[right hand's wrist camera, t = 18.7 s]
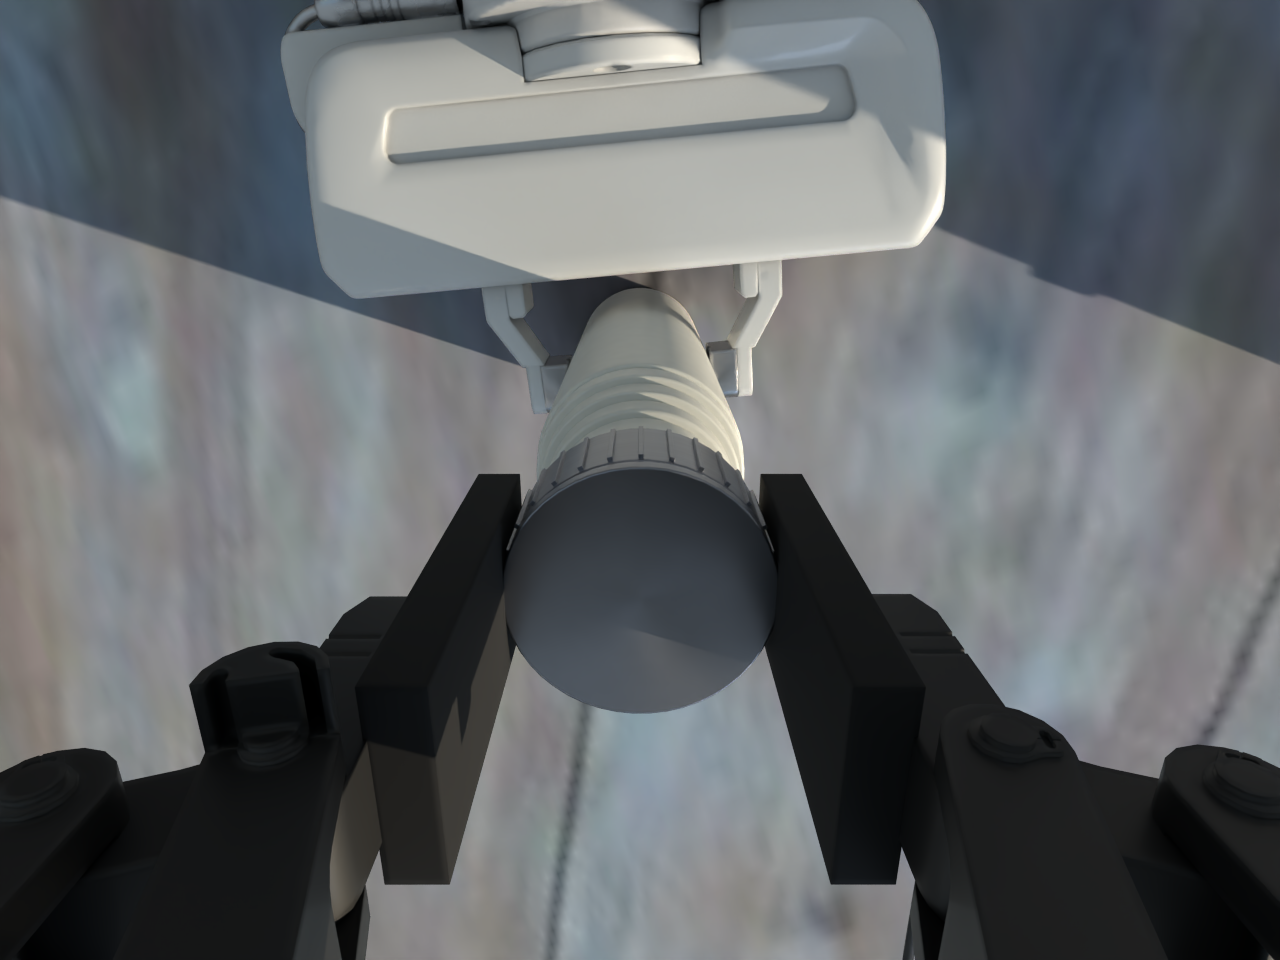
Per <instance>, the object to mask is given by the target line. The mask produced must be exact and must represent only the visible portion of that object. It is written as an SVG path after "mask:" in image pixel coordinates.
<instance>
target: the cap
mask: <svg viewBox="0 0 1280 960" xmlns="http://www.w3.org/2000/svg"><path fill="white" fill-rule="evenodd" d="M766 529H768V528H767V525H766V523H765V520H764V517H763V515H762V512H761V510H760V507H759V504H758V502H757V499H756V497H755V494H754V492H753V490H751V491H749V490H748V488H747V486H746V484H745V483H744V481H743V478H742V475H741V472H740V471H739V469H736V470H735V469H734V468H733V467H732V466H731V465H730V464H729V463H728V462H727V461H726V460H725V459H724V458H723V457H722V454H721V453H720V452H719V451H717V452H714V451H713V450H712V449H710V448H709V447H707V446H705V445H703V444H701V443H700V442H698V439H697V438H695V437H694V438H693V439H691V438H688V437H686V436H683V435H681V434H677V433H673V432H672V430H671V429H667V431H665V430H657V429H649V428H643V426H639V428H637V429H624V430H617V431H616V430H615V429H611V431H610V432H608V433H604V434H601V435H598V436H595V437H593V438H590V439H589V437H586V438H584V441H583V442H581V443H580V444H578V445H576V446H574V447H573V448H571V449H569V450H568V451H567V452H565V450H563V451H562V452H561V453H560V456H559V458H557V459H556V460H555V461H554V462H553V463H552V464H551V465H550V466H549V467H548V468H547V469H545V468H544V469H543V470H542V471H541V474H540V476H539V479H538V481H537V483H536V484H535V486H534V488H533V490H530V489H529V490H528V492H527V495H526V497H525V500H524V502H523V505H522V507H521V510H520V513H519V515H518V518H517V520H516V523H515V526H514V530H513V533H512V536H511V538H510V541H509V544H508V546H507V549H506V553H507V556H506V560H505V564H504V569H503V587H504V601H505V615H506V623H507V626H508V628H509V631H510V633H511V636H512V638H513V640H514V642H515V644H516V645H517V647H518V649H519V651H520V652H521V654H522V655H523V656H524V658H525V659H526V660H527V662H528V663H529V664H530V665H531V667H532V668H533V669H534V670H535V671H536V672H537V673H538V674H539V675H540V676H541V677H542V678H544V679H545V680H546V681H547V682H549V683H550V684H551V685H552V686H554V687H555V688H557V689H558V690H560V691H562V692H563V693H565V694H566V695H568V696H570V697H572V698H574V699H577V700H579V701H581V702H583V703H586V704H589V705H592V706H595V707H598V708H601V709H606V710H611V711H615V712H624V713H657V712H666V711H671V710H675V709H680V708H684V707H687V706H689V705H692V704H695V703H698V702H701V701H703V700H705V699H707V698H709V697H711V696H713V695H715V694H716V693H718V692H720V691H721V690H723V689H724V688H726V687H727V686H729V685H730V684H731V683H733V682H734V681H735V680H736V679H737V678H739V677H740V676H741V675H742V674H743V673H744V672H745V671H746V670H747V669H748V668H749V667H750V666H751V664H752V663H753V662H754V661H755V659H756V658H757V656H758V655H759V654H760V652H761V651H762V649H763V647H764V646H765V644H766V642H767V640H768V638H769V636H770V634H771V631H772V628H773V626H774V622H775V610H776V595H777V581H778V569H777V564H776V560H775V556H774V549H773V546H772V544H771V541H770V538H769V536H768V533H767V530H766Z"/></svg>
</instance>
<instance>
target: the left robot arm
mask: <svg viewBox="0 0 1280 960" xmlns="http://www.w3.org/2000/svg"><path fill="white" fill-rule="evenodd" d="M463 14H464V17H463ZM317 20H320V22H321V24H322V25H323V26H324V27H326V29H317V30H307V31H304V30H305V29H306V28H307V27H308V26H309V25H310V24H312V23H313V22H315V21H317ZM380 21H381V22H384V23H379V22H380ZM389 21H390V22H389ZM371 23H374V24H371ZM281 63H282V67H283V72H284V76H285V81H286V85H287V90H288V94H289V99H290V103H291V107H292V110H293V112H294V115H295V117H296V120H297V122H298V124H299V125H300V127H301V128H302V130H303V131H304V132H305V141H306V158H307V172H308V182H309V193H310V202H311V209H312V216H313V223H314V230H315V236H316V242H317V248H318V253H319V258H320V262H321V265H322V268H323V270H324V272H325V273H326V275H327V276H328V277H329V278H330V279H331V280H332V281H333V282H334V283H335V284H336V285H338V286H339V287H340V288H341V289H342V290H343V291H344V292H345V293H346V294H347V295H349V296H350V297H352V298H355V299H363V298H374V297H385V296H396V295H407V294H418V293H428V292H439V291H450V290H461V289H472V288H481V290H482V296H483V303H484V309H485V315H486V322H487V323H488V324H489V326H490V327H491V328H492V329H493V331H494V332H495V333H496V335H497V336H498V337H499V338H500V340H501V341H502V342H503V343H504V345H505V346H506V347H507V349H508V350H509V351H510V352H511V354H512V355H513V356H514V357H515V359H516V360H517V361H518V363H519V364H520V365H521V366H522V368H524V367H526V371H527V378H528V385H529V391H530V398H531V405H532V409H533V412H534V414H544V413H549V412H550V410H551V408H552V405H553V403H554V401H555V398H556V396H557V394H558V391H559V389H560V386H561V384H562V382H563V379H564V377H565V375H566V372H567V370H568V368H569V365H570V363H571V360H572V355H562V356H550V355H549V353H548V352H547V351H546V349H545V348H544V347H543V345H542V344H541V342H540V341H539V340H538V338H537V337H536V335H535V334H534V333H533V331H532V330H531V328H530V327H529V326H528V324H527V323H526V321H525V320H524V319H523V318H524V317H525V316H526V315H527V314H528V313H529V311H530V310H531V309H532V308H533V307H534V302H533V294H532V286H531V283H536V282H547V281H558V280H569V279H580V278H590V277H601V276H612V275H623V274H634V273H644V272H655V271H666V270H677V269H688V268H698V267H709V266H720V265H731V264H733V277H734V288H735V289H736V290H737V291H738V292H739V293H740V294H741V295H742V296H743V297H745V298H747V299H746V301H745V303H744V305H743V307H742V309H741V311H740V313H739V315H738V318H737V320H736V322H735V324H734V326H733V328H732V330H731V332H730V334H729V336H728V338H727V341H718V342H709V343H705V344H706V354H707V356H708V359H709V361H710V363H711V366H712V368H713V370H714V373H715V375H716V377H717V380H718V382H719V385H720V387H721V389H722V392H723V394H724V396H725V397H738V396H749V395H752V389H753V382H752V356H751V347H755V346H756V344H757V342H758V340H759V338H760V336H761V334H762V332H763V331H764V329H765V327H766V325H767V323H768V321H769V319H770V317H771V315H772V314H773V312H774V310H775V308H776V306H777V304H778V302H779V300H780V299H781V297H782V260H785V259H796V258H806V257H817V256H828V255H839V254H850V253H860V252H871V251H882V250H893V249H903V248H912V247H915V246H917V245H918V244H920V243H921V242H922V240H923V239H924V238H925V237H926V235H927V234H928V233H929V231H930V230H931V229H932V227H933V226H934V224H935V223H936V221H937V220H938V218H939V217H940V215H941V213H942V210H943V206H944V198H945V185H946V131H945V110H944V94H943V83H942V73H941V62H940V55H939V48H938V43H937V39H936V35H935V32H934V29H933V26H932V23H931V21H930V19H929V17H928V15H927V13H926V11H925V10H924V8H923V7H922V5H921V4H920V3H919V2H918V1H917V0H314V5H311V6H309V7H307V8H305V9H303V10H302V11H301V12H299V13H298V14H297V15H296V16H295V17H294V19H293V20H292V21H291V23H290V25H289V26H288V28H287V30H286V33H285V35H284V37H283V39H282V42H281Z"/></svg>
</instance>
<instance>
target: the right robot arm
mask: <svg viewBox="0 0 1280 960" xmlns="http://www.w3.org/2000/svg"><path fill="white" fill-rule="evenodd" d="M521 507H522V504H521V486H520V474H479V475H478V476H477V478H476V480H475V481H474V483H473V485H472V487H471V488H470V490H469V492H468V493H467V495H466V497H465V499H464V500H463V502H462V504H461V505H460V507H459V509H458V511H457V512H456V514H455V516H454V517H453V519H452V521H451V523H450V524H449V526H448V528H447V529H446V531H445V533H444V535H443V536H442V538H441V540H440V541H439V543H438V545H437V547H436V548H435V550H434V552H433V553H432V555H431V557H430V559H429V560H428V562H427V564H426V565H425V567H424V569H423V571H422V572H421V574H420V576H419V577H418V579H417V581H416V583H415V584H414V586H413V588H412V589H411V591H410V593H409V595H408V596H407V597H369V598H367V599H366V600H364V601H363V602H361V603H360V604H358V605H357V606H355V607H354V608H352V609H351V610H349V611H348V612H346V613H345V614H343V616H342V617H341V619H340V620H339V621H338V623H337V624H336V626H335V627H334V628H333V630H332V631H331V633H330V634H329V639H326V640H325V641H324V642H323V644H322V645H321V647H320V648H318V647H317V646H314V645H310V644H306V643H302V642H272V643H267V644H262V645H257V646H252V647H248V648H245V649H242V650H240V651H237V652H235V653H232V654H230V655H227V656H224V657H222V658H221V659H219V660H218V661H216V662H214V663H213V664H211V665H210V666H208V667H206V668H205V669H203V670H202V671H201V672H200V673H199V674H198V675H197V677H196V678H195V679H194V680H193V681H192V682H191V683H190V685H189V687H190V691H191V696H192V700H193V704H194V708H195V712H196V716H197V720H198V725H199V729H200V733H201V737H202V741H203V745H204V749H205V754H204V757H203V759H202V761H201V763H200V765H196V766H192V767H189V768H185V769H182V770H177V771H172V772H168V773H163V774H158V775H153V776H149V777H144V778H139V779H135V780H130V781H125V782H122V778H121V775H120V771H119V768H118V765H117V761H116V760H115V759H113V758H112V757H111V756H110V755H109V754H108V753H106V752H105V751H100V750H94V749H88V748H79V749H70V750H61V751H55V752H51V753H47V754H43V755H42V756H36V757H33V758H30V759H27V760H25V761H23V762H21V763H19V764H17V765H15V766H13V767H11V768H9V769H7V770H5V771H3V772H1V773H0V960H365V957H366V948H367V939H368V931H369V922H370V912H369V904H368V897H367V891H366V885H365V884H366V881H367V879H368V876H369V874H370V871H371V869H372V866H373V864H374V861H375V859H376V856H377V854H378V851H379V850H380V857H381V863H382V870H383V876H384V883H385V885H413V884H450V881H451V878H452V874H453V871H454V867H455V863H456V860H457V856H458V853H459V849H460V845H461V842H462V838H463V835H464V831H465V827H466V824H467V820H468V816H469V813H470V809H471V806H472V802H473V798H474V795H475V791H476V788H477V784H478V780H479V777H480V773H481V770H482V766H483V762H484V759H485V755H486V751H487V748H488V744H489V741H490V737H491V733H492V730H493V726H494V723H495V719H496V715H497V712H498V708H499V705H500V701H501V697H502V694H503V690H504V686H505V683H506V679H507V676H508V672H509V668H510V665H511V661H512V658H513V654H514V650H515V647H516V644H515V642H514V640H513V638H512V636H511V633H510V631H509V628H508V626H507V623H506V615H505V601H504V587H503V569H504V564H505V560H506V556H507V553H506V549H507V546H508V544H509V541H510V538H511V536H512V533H513V530H514V526H515V523H516V520H517V518H518V515H519V513H520V510H521ZM759 507H760V510H761V512H762V515H763V517H764V520H765V523H766V525H767V528H768V529H766V530H767V533H768V536H769V538H770V541H771V544H772V546H773V549H774V556H775V560H776V564H777V569H778V581H777V595H776V610H775V622H774V626H773V628H772V631H771V634H770V636H769V638H768V640H767V642H766V644H765V649H766V652H767V656H768V659H769V663H770V667H771V670H772V674H773V678H774V681H775V685H776V688H777V692H778V696H779V699H780V703H781V706H782V710H783V714H784V717H785V721H786V724H787V728H788V732H789V735H790V739H791V742H792V746H793V750H794V753H795V757H796V761H797V764H798V768H799V771H800V775H801V779H802V782H803V786H804V789H805V793H806V797H807V800H808V804H809V807H810V811H811V815H812V818H813V822H814V825H815V829H816V833H817V836H818V840H819V844H820V847H821V851H822V854H823V858H824V862H825V865H826V869H827V872H828V876H829V880H830V883H831V884H896V880H897V873H898V867H899V860H900V854H901V847H902V849H903V851H904V854H905V856H906V859H907V861H908V864H909V866H910V868H911V871H912V873H913V876H914V878H915V885H914V891H913V897H912V903H911V909H910V915H909V921H908V928H907V934H906V940H905V946H904V953H903V960H914V955H915V960H1280V768H1278V767H1276V766H1274V765H1272V764H1270V763H1268V762H1266V761H1263V760H1262V759H1260V758H1258V757H1256V756H1253V755H1250V754H1247V753H1244V752H1243V753H1241V752H1239V751H1237V750H1232V749H1228V748H1224V747H1215V746H1206V745H1192V746H1186V747H1180V748H1176V749H1175V750H1174V751H1172V752H1171V753H1170V754H1169V755H1168V756H1167V757H1165V760H1164V763H1163V767H1162V770H1161V774H1160V777H1159V779H1157V778H1153V777H1148V776H1143V775H1138V774H1134V773H1129V772H1124V771H1119V770H1115V769H1110V768H1105V767H1100V766H1097V765H1093V764H1090V763H1086V762H1082V761H1079V760H1078V757H1077V755H1076V753H1075V751H1074V750H1073V748H1072V747H1071V746H1070V744H1069V743H1068V742H1067V740H1066V739H1065V738H1064V736H1063V735H1062V734H1060V733H1059V732H1058V731H1056V730H1055V729H1053V728H1052V727H1051V726H1049V725H1048V724H1047V723H1045V722H1044V721H1042V720H1040V719H1038V718H1036V717H1033V716H1031V715H1029V714H1027V713H1024V712H1022V711H1020V710H1016V709H1012V708H1008V707H1005V705H1004V704H1003V703H1002V701H1001V700H1000V698H999V697H998V696H997V694H996V693H995V691H994V690H993V689H992V687H991V686H990V684H989V683H988V682H987V680H986V679H985V677H984V676H983V675H982V673H981V672H980V671H979V669H978V668H977V666H976V665H975V664H974V662H973V661H972V659H971V658H970V657H969V655H968V654H965V653H964V648H963V647H962V645H961V644H960V643H959V641H958V640H957V638H956V637H955V636H952V631H951V630H950V629H949V627H948V626H947V624H946V623H945V622H944V620H943V619H942V618H941V616H940V615H939V613H938V612H937V611H936V610H934V609H933V608H931V607H929V606H928V605H926V604H925V603H923V602H922V601H920V600H919V599H917V598H916V597H914V596H913V595H911V594H871V592H870V590H869V589H868V587H867V585H866V583H865V582H864V580H863V578H862V577H861V575H860V573H859V571H858V570H857V568H856V566H855V565H854V563H853V561H852V559H851V558H850V556H849V554H848V553H847V551H846V549H845V547H844V546H843V544H842V542H841V541H840V539H839V537H838V535H837V534H836V532H835V530H834V529H833V527H832V525H831V523H830V522H829V520H828V518H827V517H826V515H825V513H824V511H823V510H822V508H821V506H820V505H819V503H818V501H817V499H816V498H815V496H814V494H813V493H812V491H811V489H810V487H809V486H808V484H807V482H806V481H805V479H804V477H803V475H802V474H761V478H760V495H759Z"/></svg>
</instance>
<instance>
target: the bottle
mask: <svg viewBox="0 0 1280 960" xmlns="http://www.w3.org/2000/svg"><path fill="white" fill-rule="evenodd" d="M639 426H643V428H649V429H657V430H665V431H667V429H671V430H672V432H673V433H677V434H681V435H683V436H686V437H688V438H691V439H693V438H694V437H695V438H697V439H698V442H700V443H701V444H703V445H705V446H707V447H709V448H710V449H712V450H713V451H714V452H717V451H719V452H720V453H721V454H722V457H723V458H724V459H725V460H726V461H727V462H728V463H729V464H730V465H731V466H732V467H733V468H734V469H735V470H736V469H739V471H740V472H741V475H742V478H743V481H744V457H743V446H742V441H741V437H740V433H739V430H738V428H737V425H736V422H735V420H734V417H733V415H732V413H731V410H730V408H729V406H728V403H727V401H726V399H725V396H724V394H723V392H722V389H721V387H720V385H719V382H718V380H717V377H716V375H715V373H714V370H713V368H712V366H711V363H710V361H709V359H708V356H707V354H706V352H705V349H704V347H703V344H702V342H701V340H700V337H699V335H698V333H697V330H696V328H695V326H694V323H693V321H692V319H691V317H690V316H689V314H688V313H687V311H686V310H685V308H684V307H683V306H682V305H681V304H680V303H679V302H677V301H676V300H675V299H674V298H672V297H671V296H669V295H667V294H665V293H663V292H660V291H657V290H654V289H648V288H633V289H627V290H623V291H620V292H618V293H616V294H614V295H612V296H610V297H609V298H607V299H606V300H605V301H603V302H602V303H601V304H600V305H599V306H598V307H597V308H596V309H595V311H594V312H593V314H592V315H591V317H590V319H589V321H588V323H587V325H586V327H585V330H584V332H583V334H582V337H581V339H580V342H579V344H578V346H577V349H576V351H575V353H574V356H573V358H572V360H571V363H570V365H569V368H568V370H567V372H566V375H565V377H564V379H563V382H562V384H561V386H560V389H559V391H558V394H557V396H556V398H555V401H554V403H553V405H552V408H551V410H550V412H549V415H548V417H547V419H546V422H545V425H544V427H543V430H542V432H541V436H540V441H539V445H538V455H537V481H538V479H539V476H540V474H541V471H542V470H543V469H544V468H545V469H547V468H548V467H549V466H550V465H551V464H552V463H553V462H554V461H555V460H556V459H557V458H559V456H560V453H561V452H562V451H563V450H565V452H567V451H568V450H569V449H571V448H573V447H574V446H576V445H578V444H580V443H581V442H583V441H584V438H586V437H589V439H590V438H593V437H595V436H598V435H601V434H604V433H608V432H610V431H611V429H615V430H616V431H617V430H624V429H637V428H639Z"/></svg>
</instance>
